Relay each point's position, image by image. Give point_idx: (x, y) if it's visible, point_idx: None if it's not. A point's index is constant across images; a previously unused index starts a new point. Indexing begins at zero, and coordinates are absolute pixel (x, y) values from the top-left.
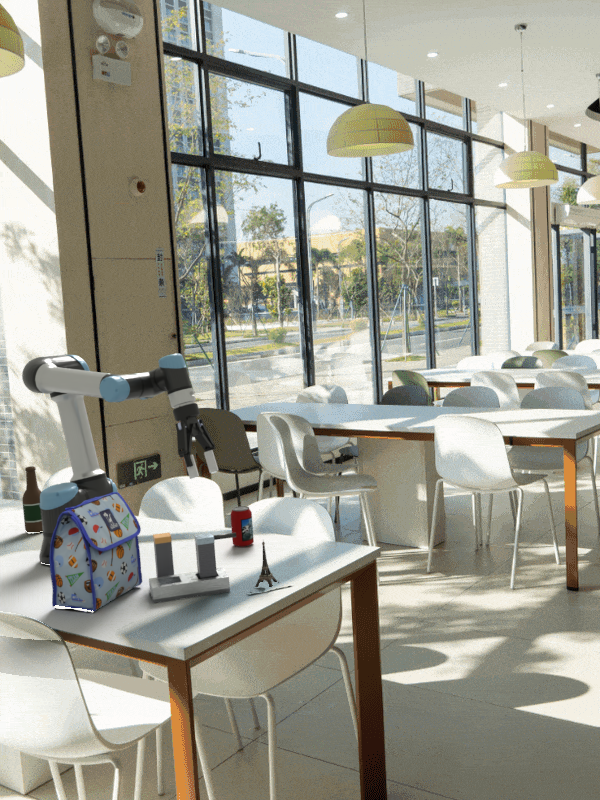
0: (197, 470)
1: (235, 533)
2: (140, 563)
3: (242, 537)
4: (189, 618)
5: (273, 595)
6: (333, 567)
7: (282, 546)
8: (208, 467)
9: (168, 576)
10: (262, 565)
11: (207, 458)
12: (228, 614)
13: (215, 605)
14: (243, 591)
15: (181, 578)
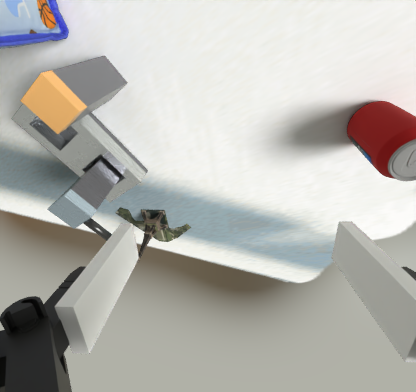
0: (128, 275)
1: None
2: (38, 42)
3: (352, 139)
4: (27, 179)
5: None
6: (230, 261)
7: (338, 193)
8: (354, 238)
9: None
10: (144, 235)
11: (384, 282)
12: None
13: None
14: (126, 203)
15: (71, 143)
